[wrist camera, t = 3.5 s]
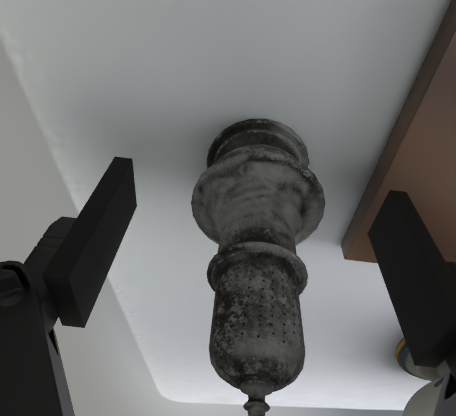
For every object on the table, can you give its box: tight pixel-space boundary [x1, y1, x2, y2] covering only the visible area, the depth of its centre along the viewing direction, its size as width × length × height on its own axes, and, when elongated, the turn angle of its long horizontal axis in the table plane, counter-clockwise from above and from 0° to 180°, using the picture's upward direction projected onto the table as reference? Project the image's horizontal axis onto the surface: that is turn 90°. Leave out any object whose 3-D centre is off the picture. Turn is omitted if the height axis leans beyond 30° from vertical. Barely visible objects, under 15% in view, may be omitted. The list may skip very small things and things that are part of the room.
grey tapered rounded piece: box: [191, 119, 325, 416], centre depth 13 cm, size 6×6×12 cm
